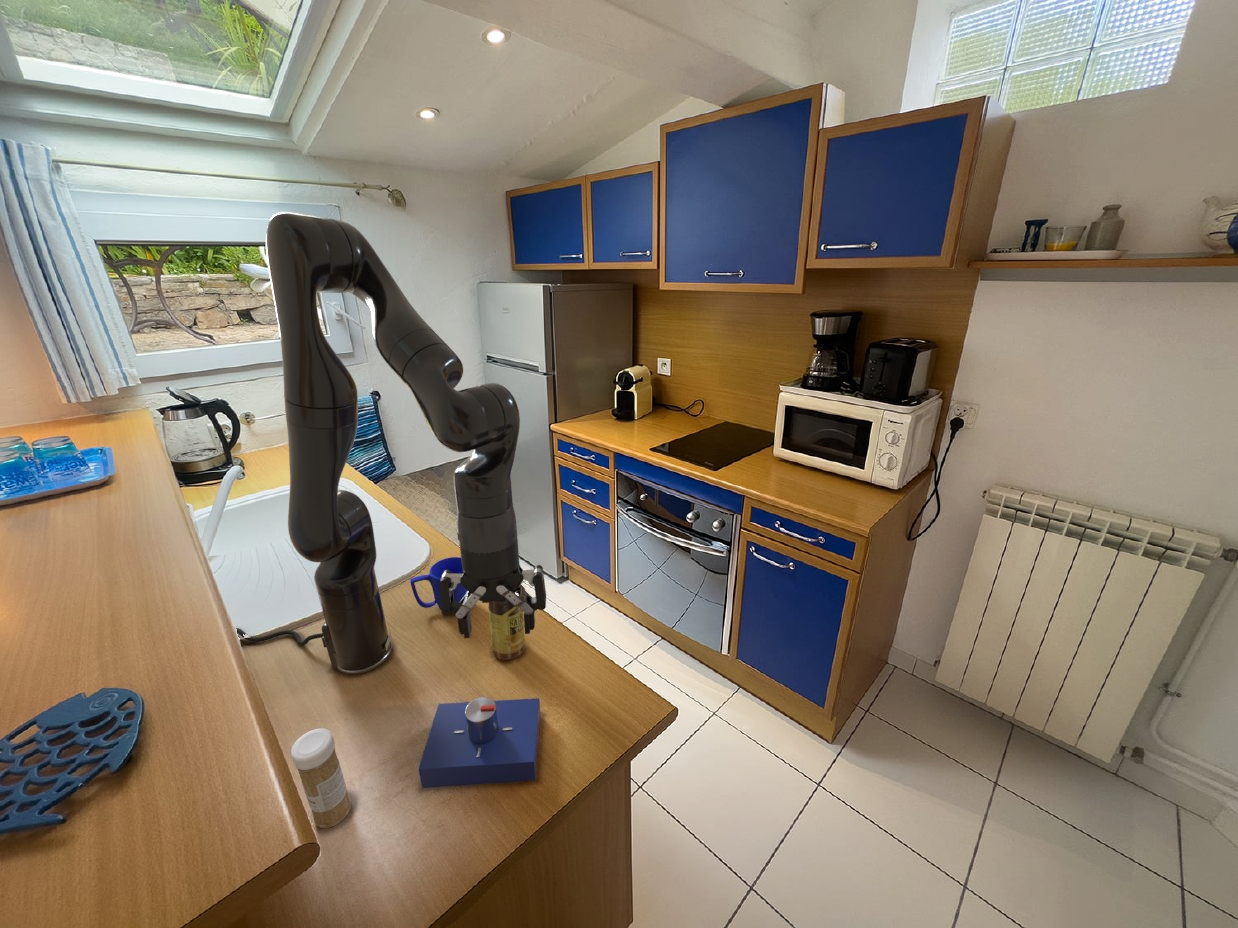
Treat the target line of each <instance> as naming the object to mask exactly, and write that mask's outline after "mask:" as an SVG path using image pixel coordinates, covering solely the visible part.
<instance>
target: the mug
mask: <svg viewBox="0 0 1238 928" xmlns="http://www.w3.org/2000/svg"><path fill="white" fill-rule="evenodd" d="M445 570H450V571H452V574H462V573H463V568H462V561H461V556H459V557H458V556H453V557H451V556H450V557H447V558H443V559H440V560H438V561H436V562H435V563H434V564H433V565H432V566H431V567H430V569H429V574H421V575H418V576H414V577H412V578H411V579H409V583H410V586H411V587H410V588H411V590H412V593H413V596H414V599H415V601H416V602H417V604H418V605H419V606H420V607H422V608H424V609H429V608H433V607H434V606H436V605H437V606H438V608H439V610H440V611H441V599H440V586H439V583H440V580H441V577H442V575H443V572H444V571H445ZM422 581H428V582H429V583H430V586H431V588H432V593H433V597H434V601H431V602H425V601H422V600H421V598H420V596H419V593H418V591H417V588H416V584H415V583H418V582H422ZM466 592H467V590H466V589H465V588H464V587H463V586H462V585H461V583H458V584H457V586H456V588H455V589H454V590H453V593H454V601H456V602H460V601H461V599H462V598H463V597H464V596H465V594H466Z"/></svg>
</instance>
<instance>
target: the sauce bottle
mask: <svg viewBox="0 0 1238 928" xmlns="http://www.w3.org/2000/svg"><path fill="white" fill-rule="evenodd" d="M487 609H488V619H489V631H490V642H491V648H492V651H493V652H492V653H493V655H494V656H495V657H496V658H497V659H499V660H503V661H510V660H513V659H516V658H517V657H519V656H520V655H522V654H523V652H524V650H525V643H526V636H525V635H526V634H525V627H524V611H522V610H521V609H520V608H519V607H518V606H517V607H515V606H514V605H513V604H512V603H511V602H510V601H509V600H508V599H507V600H505V602H496V601H492V602H489V603H488V607H487Z"/></svg>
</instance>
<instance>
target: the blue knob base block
mask: <svg viewBox="0 0 1238 928" xmlns="http://www.w3.org/2000/svg"><path fill="white" fill-rule="evenodd" d="M493 701H494V702H495V704H496V712H497V720H498V732H497V734H496V735H495V737H494V738H493V739H492V740H490V741H488V742H486V743H482V744H477V743H474V742H472V741H471V740H470V739H469V736H468V730H467V723H466V716H465V710H466V707H467V706H468V704H469V703H470V702H471V701H464V702H443V703H438V705H437V707H436V711H435V714H434V717H433V721H432V723H431V727H430V730H429V734H428V736H427V740H426V743H425V746H424V749H423V753H422V756H421V759H420V763H419V766H418V774H419V780H420V785H421V789H431V788H432V789H433V788H445V787H462V786H475V785H476V786H477V785H491V784H505V783H521V782H535V781H536V778H537V766H538V752H539V741H540V739H539V738H540V728H541V727H540V726H541V703H540V698H539V697H537V698H535V697H534V698H522V699H521V698H519V699H518V698H517V699H501V700H500V699H499V700H493Z"/></svg>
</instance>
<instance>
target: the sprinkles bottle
mask: <svg viewBox="0 0 1238 928" xmlns="http://www.w3.org/2000/svg"><path fill="white" fill-rule="evenodd" d="M335 744H336V743H335V739H334V736H333V733H332V732H331V731H330V730H328V729H327V728H322V727H321V728H315V729H311V730H309V731H307V732H305V733H303V734H302V735H301V736H300V737H299V738H297V739H296V741H295V742H294V743H293V744H292V746H291V748H290V749H291V750H290V757H291V761H292V763H293V765H294V767H295V768H296V769H297V771H298V774H299V777H300V780H301V784H302V787H303V790H304V793H305V797H306V800H307V802H308V806H309V807H310V810H311V813H312V816H313V823H314V824H315V825H316V827H318V828H321V829H329V828H332V827H334V826H337V825H338V824H339V823H341V822H342V821H343V820H344V819H345V818H346V817H347V816H348V814H349V813H350V810H351V807H352V800H351V797H350V796H349V794H348V790H347V784H346V780H345V777H344V774H343V770H342V767H341V764H340V760H339V759H338V755H337V752H336V747H335V746H336V745H335Z"/></svg>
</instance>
